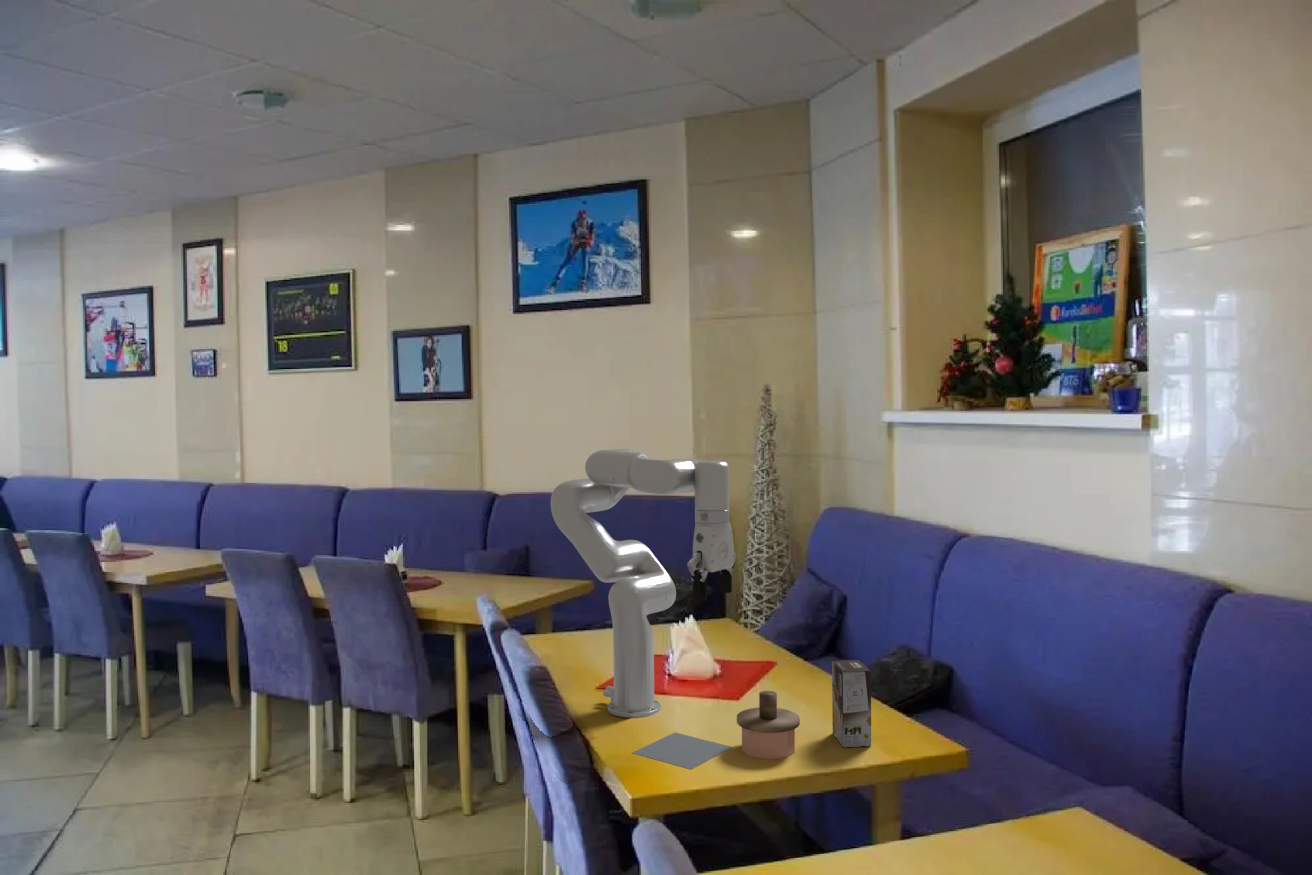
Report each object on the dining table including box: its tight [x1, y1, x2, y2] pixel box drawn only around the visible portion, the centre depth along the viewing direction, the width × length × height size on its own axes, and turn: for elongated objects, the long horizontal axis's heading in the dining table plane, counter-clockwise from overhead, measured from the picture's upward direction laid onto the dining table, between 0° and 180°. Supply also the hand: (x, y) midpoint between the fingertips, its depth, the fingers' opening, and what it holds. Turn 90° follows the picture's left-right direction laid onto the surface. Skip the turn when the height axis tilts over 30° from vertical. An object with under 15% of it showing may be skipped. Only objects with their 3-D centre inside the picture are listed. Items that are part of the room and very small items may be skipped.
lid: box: [736, 690, 801, 733], centre depth 195 cm, size 13×13×6 cm
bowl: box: [741, 727, 796, 760], centre depth 195 cm, size 11×11×6 cm
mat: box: [631, 732, 733, 770], centre depth 195 cm, size 15×15×1 cm
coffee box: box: [831, 659, 872, 748], centre depth 201 cm, size 9×6×16 cm
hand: (712, 595), depth 205 cm, fingers open, 9 cm apart
